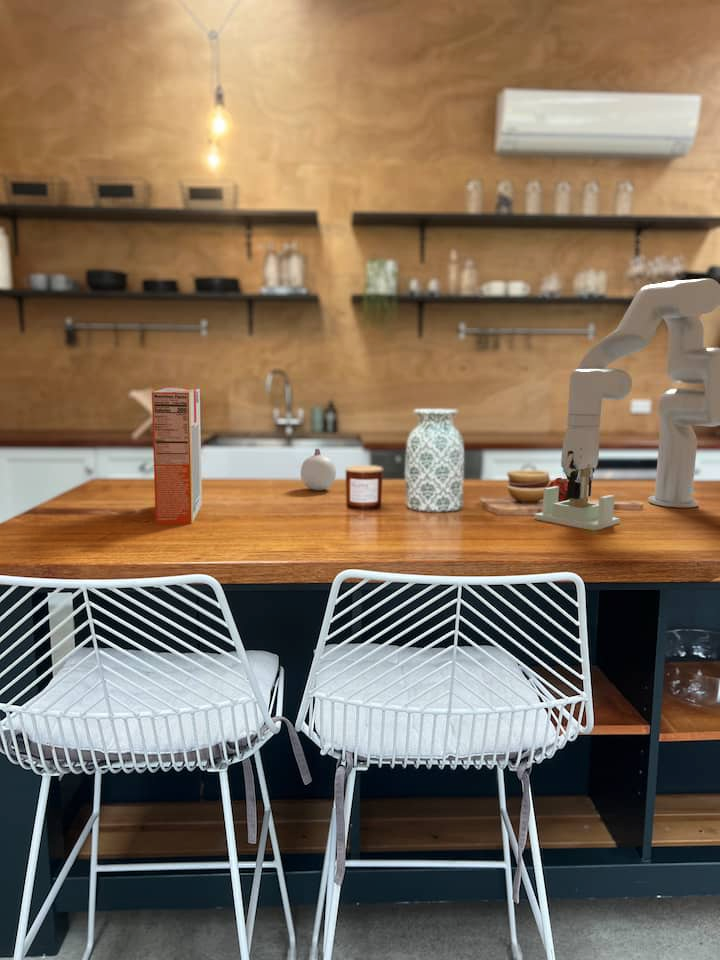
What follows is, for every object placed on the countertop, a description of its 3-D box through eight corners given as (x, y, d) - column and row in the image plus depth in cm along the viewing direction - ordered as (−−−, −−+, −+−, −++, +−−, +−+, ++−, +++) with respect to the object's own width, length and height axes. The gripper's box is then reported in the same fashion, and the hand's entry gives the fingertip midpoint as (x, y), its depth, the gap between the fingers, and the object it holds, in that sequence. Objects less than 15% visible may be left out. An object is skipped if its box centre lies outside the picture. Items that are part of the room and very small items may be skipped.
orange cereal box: (170, 504, 188) (167, 387, 183) (201, 503, 189) (199, 388, 184) (155, 524, 166) (151, 392, 161) (191, 523, 167) (188, 392, 162)
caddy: (560, 512, 186) (562, 484, 185) (619, 523, 175) (621, 493, 174) (534, 518, 178) (536, 490, 177) (594, 530, 167) (596, 500, 166)
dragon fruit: (557, 508, 200) (569, 524, 188) (534, 490, 198) (544, 505, 187) (578, 484, 198) (591, 499, 186) (555, 466, 196) (567, 480, 185)
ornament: (304, 486, 218) (304, 446, 216) (338, 487, 216) (338, 447, 214) (297, 492, 208) (297, 450, 206) (332, 493, 206) (332, 452, 204)
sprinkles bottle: (591, 510, 176) (595, 455, 173) (579, 512, 173) (582, 456, 171) (576, 507, 179) (580, 453, 177) (564, 509, 177) (567, 454, 175)
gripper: (587, 418, 181) (582, 490, 184) (550, 422, 170) (546, 499, 173) (615, 421, 176) (609, 495, 179) (579, 424, 164) (574, 503, 167)
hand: (578, 496), depth 176 cm, fingers closed on sprinkles bottle, 4 cm apart
